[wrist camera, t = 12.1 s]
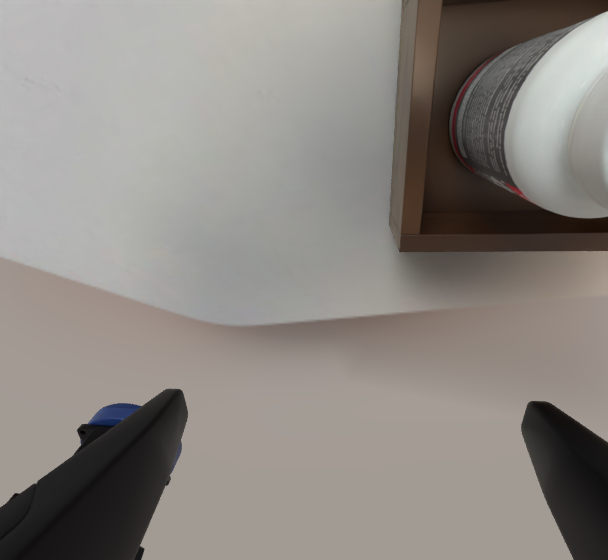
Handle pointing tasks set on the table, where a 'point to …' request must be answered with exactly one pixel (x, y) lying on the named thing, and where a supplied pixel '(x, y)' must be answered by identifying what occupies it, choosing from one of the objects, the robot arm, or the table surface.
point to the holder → (436, 140)
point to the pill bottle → (541, 120)
